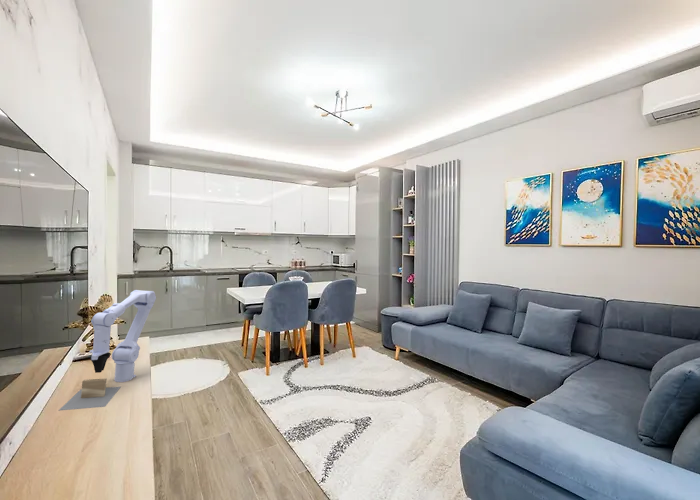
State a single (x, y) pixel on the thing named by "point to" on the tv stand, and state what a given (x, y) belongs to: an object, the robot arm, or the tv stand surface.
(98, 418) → the tv stand surface
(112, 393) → the mat
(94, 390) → the tile
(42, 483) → the tv stand surface
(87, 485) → the tv stand surface
